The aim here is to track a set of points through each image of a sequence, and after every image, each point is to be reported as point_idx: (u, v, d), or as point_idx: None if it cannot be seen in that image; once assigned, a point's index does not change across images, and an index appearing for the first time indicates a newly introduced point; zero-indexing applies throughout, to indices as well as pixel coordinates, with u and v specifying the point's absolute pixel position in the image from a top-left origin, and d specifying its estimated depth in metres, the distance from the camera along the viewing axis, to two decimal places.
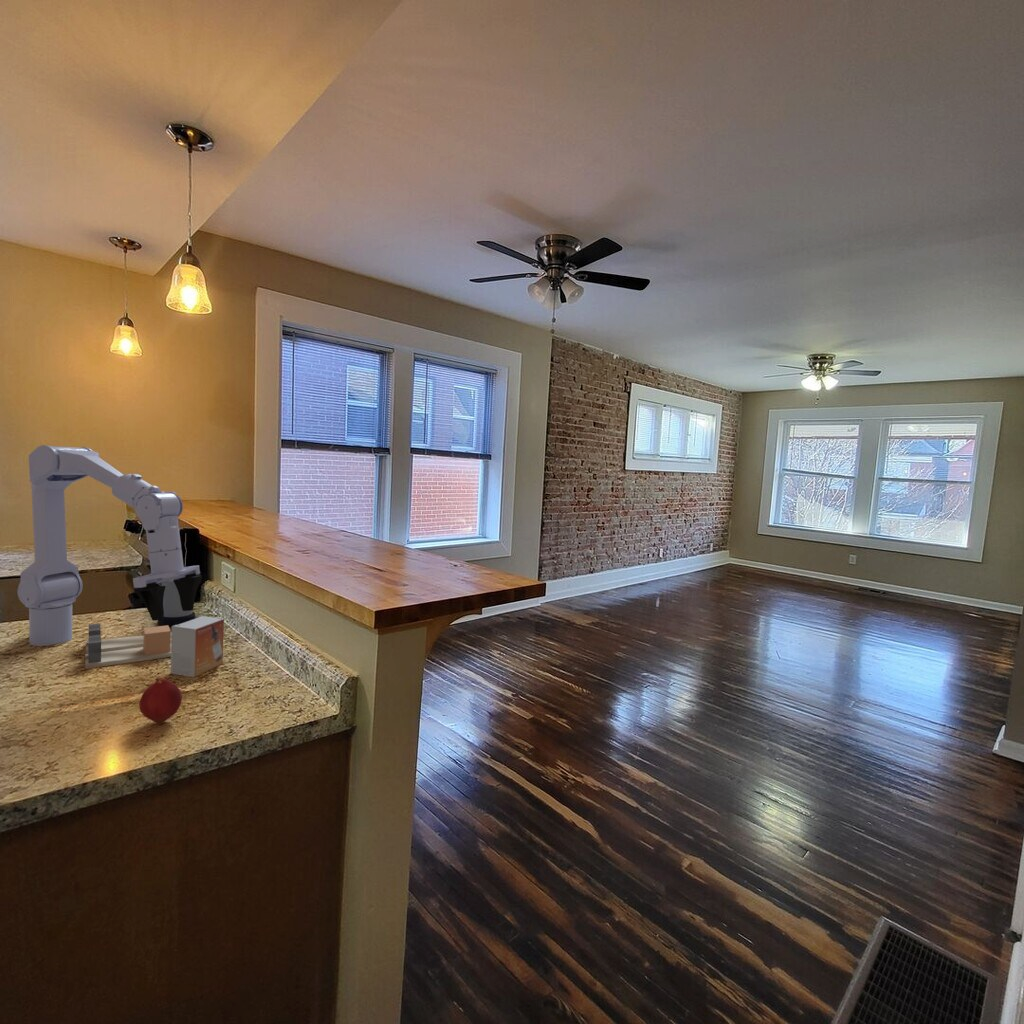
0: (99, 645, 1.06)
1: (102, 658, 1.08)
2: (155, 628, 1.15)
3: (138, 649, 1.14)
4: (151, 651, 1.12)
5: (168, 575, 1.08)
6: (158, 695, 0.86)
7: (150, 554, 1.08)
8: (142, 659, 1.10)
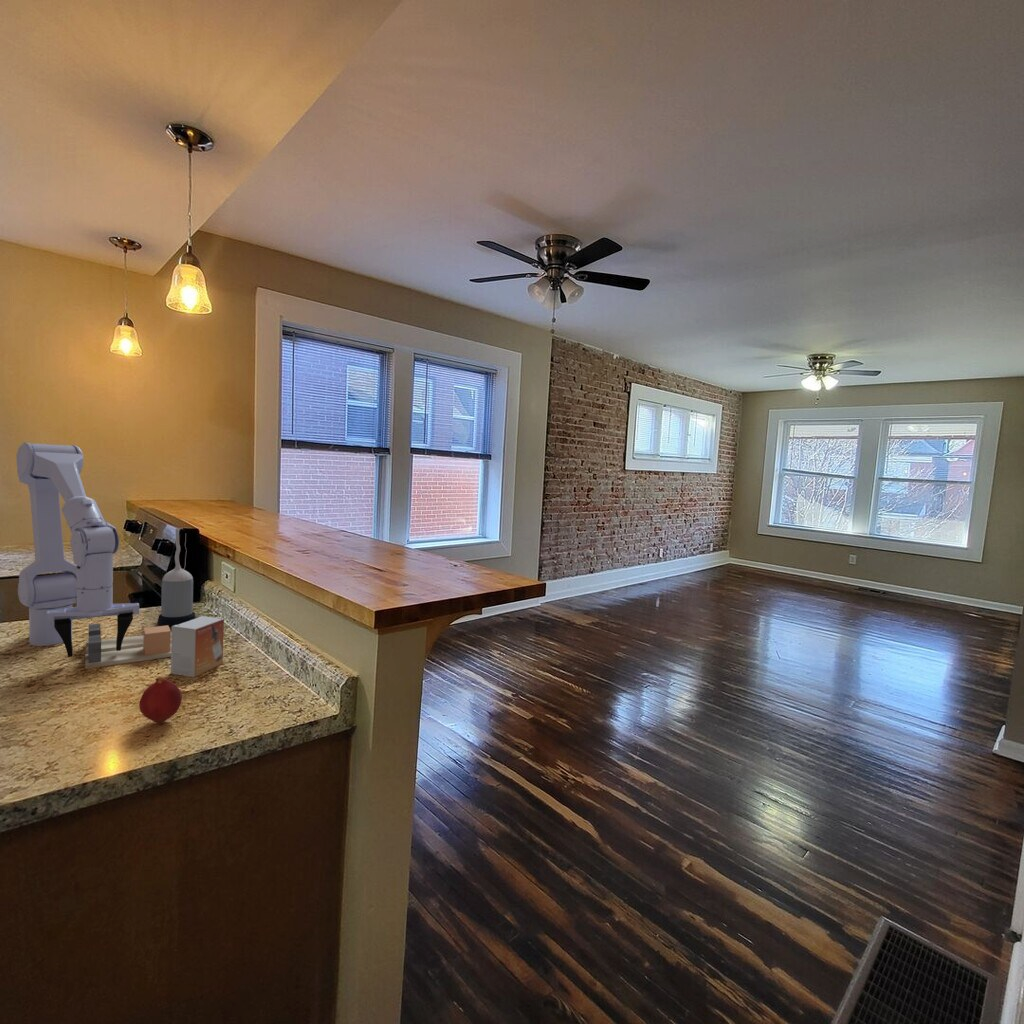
0: (99, 645, 1.06)
1: (102, 658, 1.08)
2: (155, 628, 1.15)
3: (138, 649, 1.14)
4: (151, 651, 1.12)
5: (79, 614, 1.04)
6: (158, 695, 0.86)
7: None
8: (142, 659, 1.10)
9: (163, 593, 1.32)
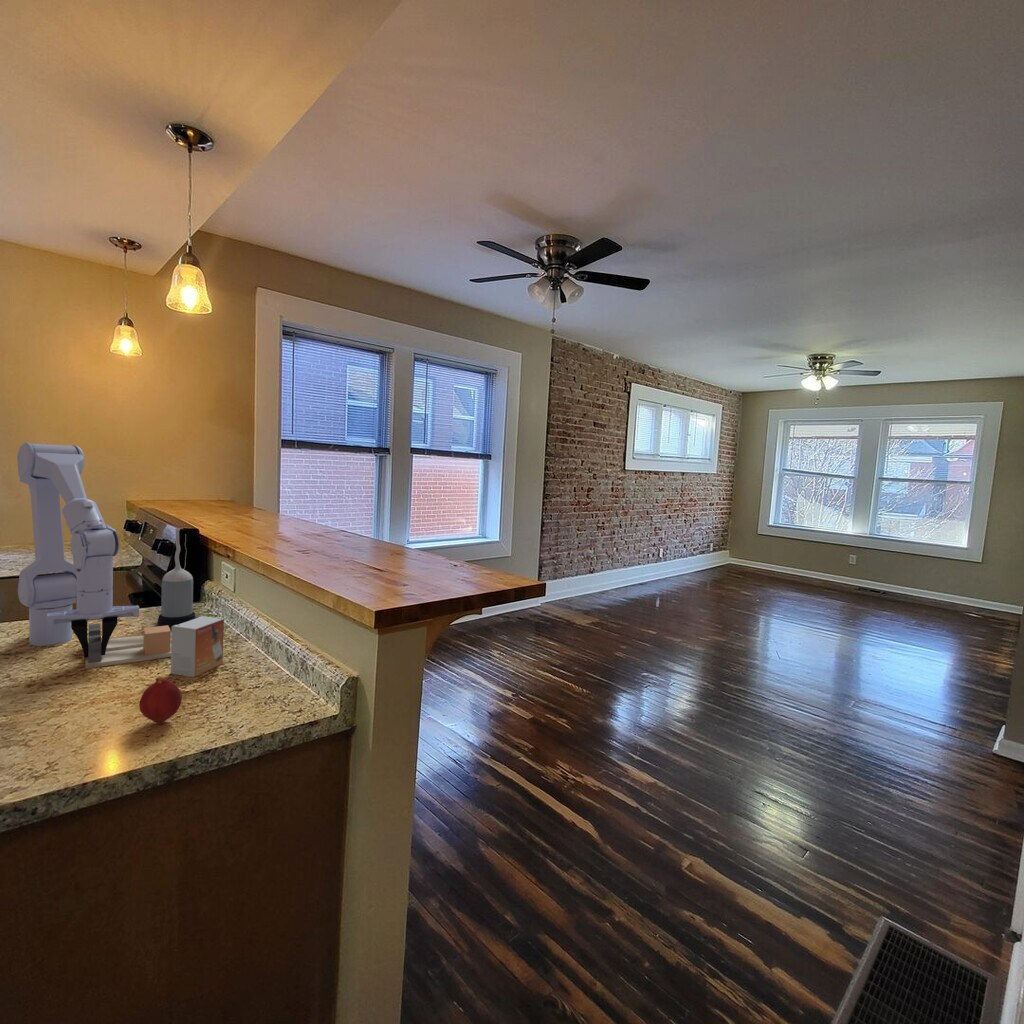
0: (99, 645, 1.06)
1: (102, 658, 1.08)
2: (155, 628, 1.15)
3: (138, 649, 1.14)
4: (151, 651, 1.12)
5: (79, 617, 1.04)
6: (158, 695, 0.86)
7: None
8: (142, 659, 1.10)
9: (163, 593, 1.32)
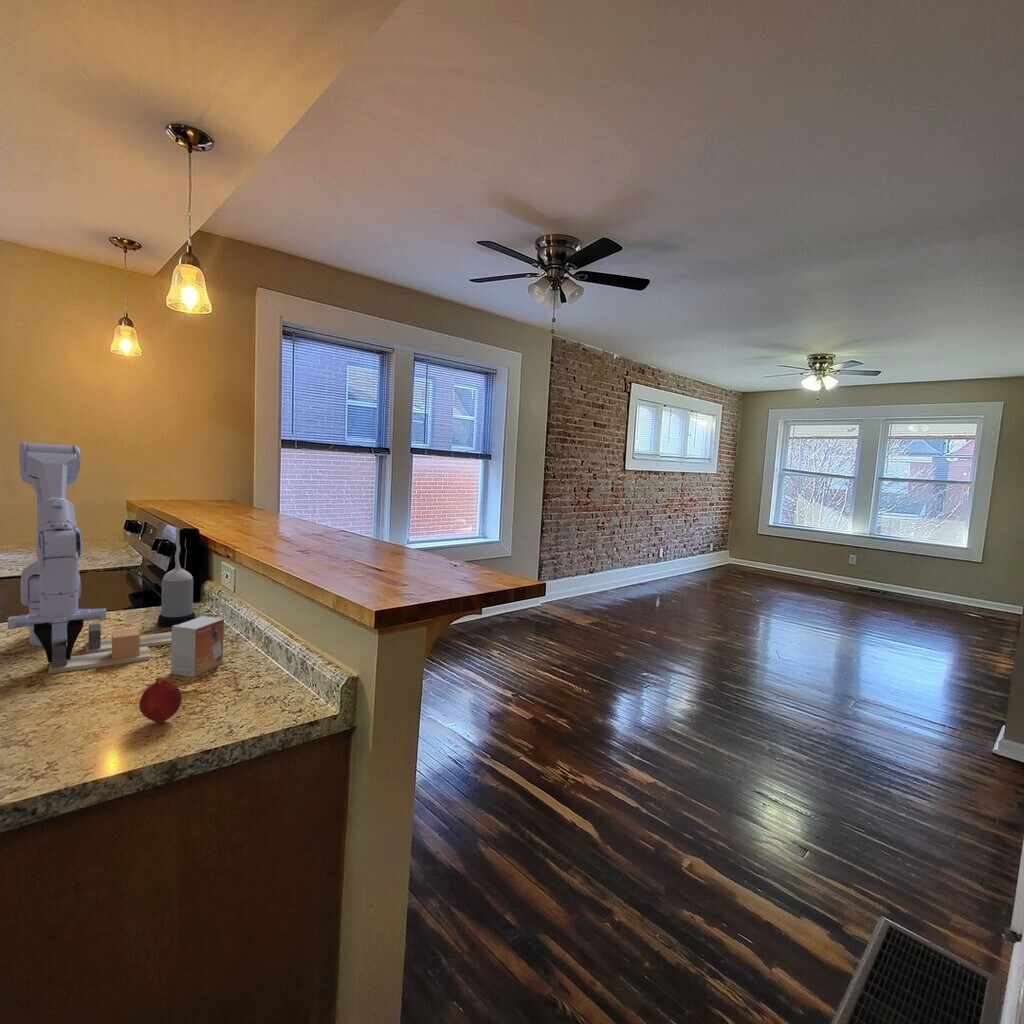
0: (63, 649, 1.03)
1: (67, 663, 1.05)
2: (124, 631, 1.12)
3: (106, 653, 1.11)
4: (119, 655, 1.09)
5: (42, 621, 1.00)
6: (158, 695, 0.86)
7: None
8: (109, 664, 1.07)
9: (163, 593, 1.32)
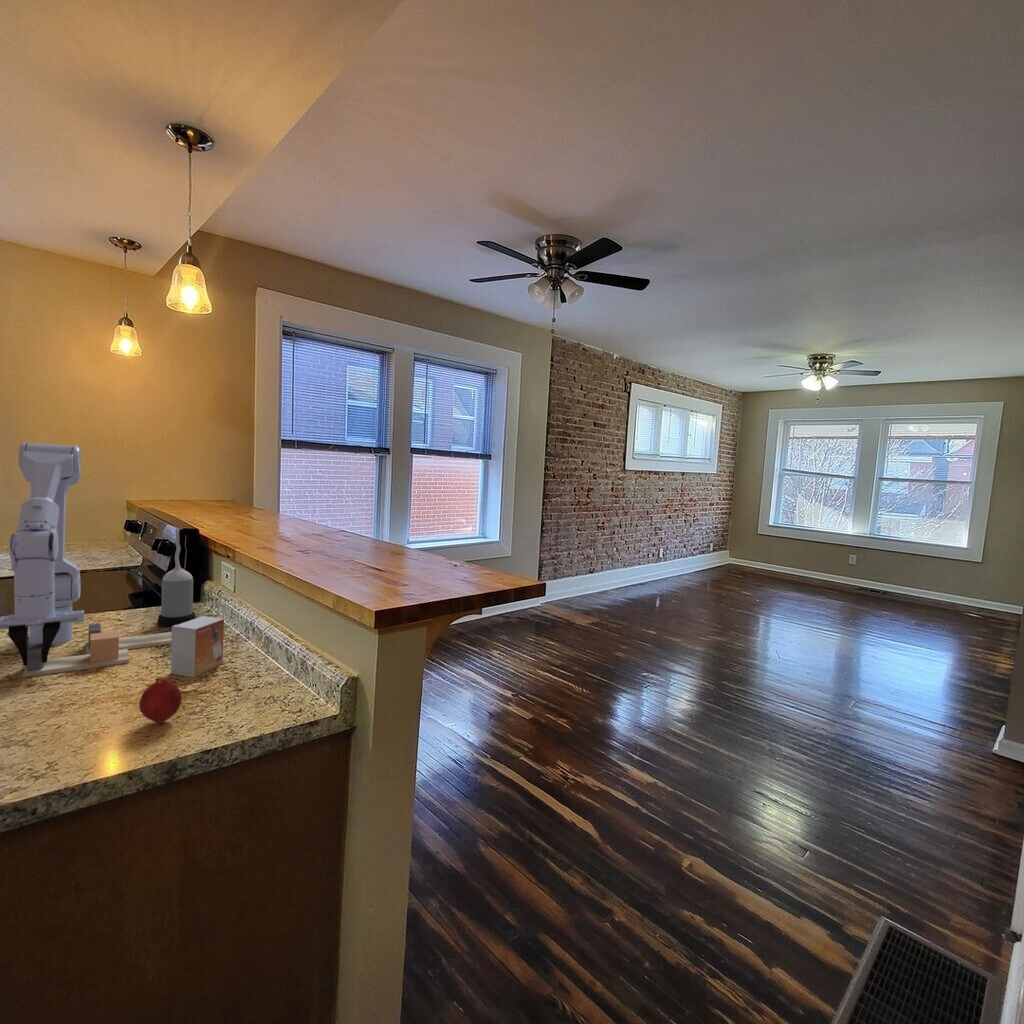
0: (39, 652, 1.01)
1: (43, 666, 1.02)
2: (103, 633, 1.09)
3: (84, 656, 1.08)
4: (97, 658, 1.06)
5: (17, 623, 0.98)
6: (158, 695, 0.86)
7: None
8: (87, 667, 1.05)
9: (163, 593, 1.32)
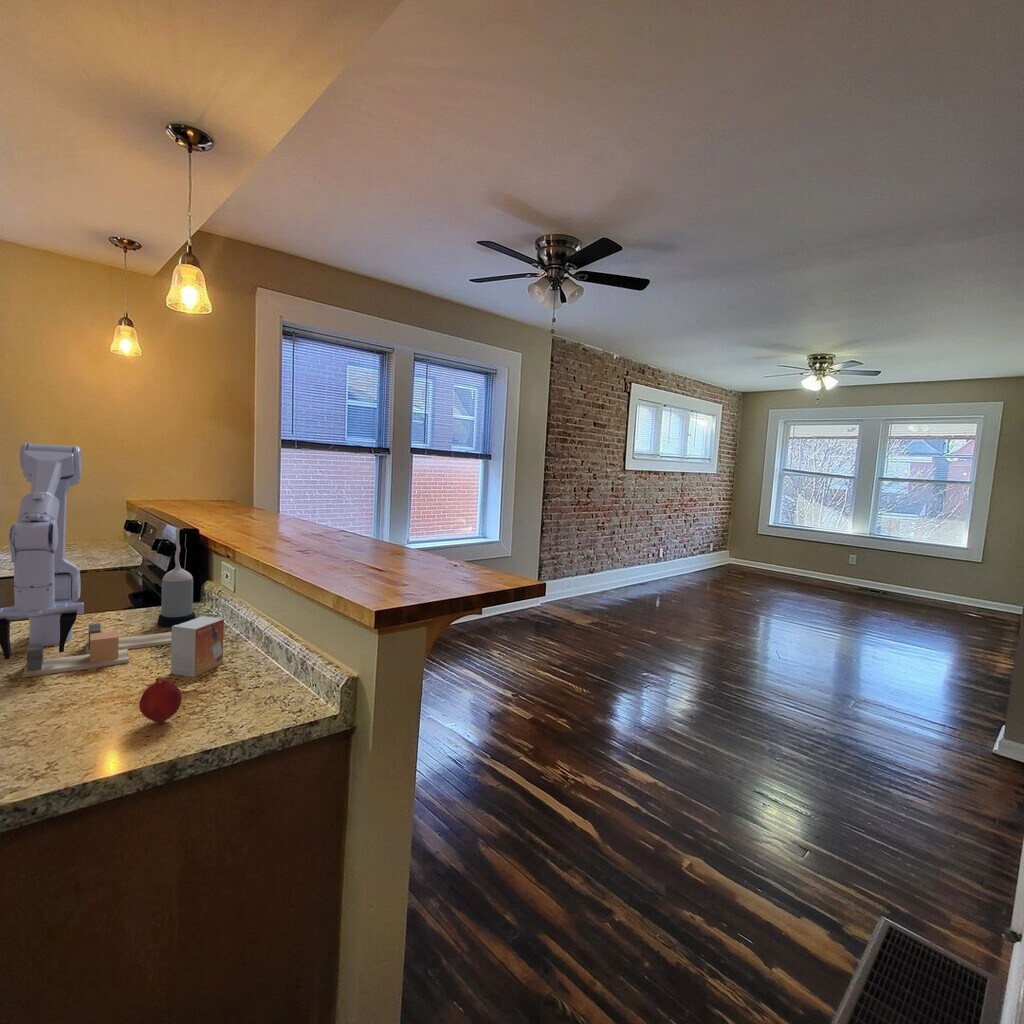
0: (39, 652, 1.01)
1: (43, 666, 1.02)
2: (103, 633, 1.09)
3: (84, 656, 1.08)
4: (97, 658, 1.06)
5: (16, 614, 0.98)
6: (158, 695, 0.86)
7: None
8: (87, 667, 1.05)
9: (163, 593, 1.32)
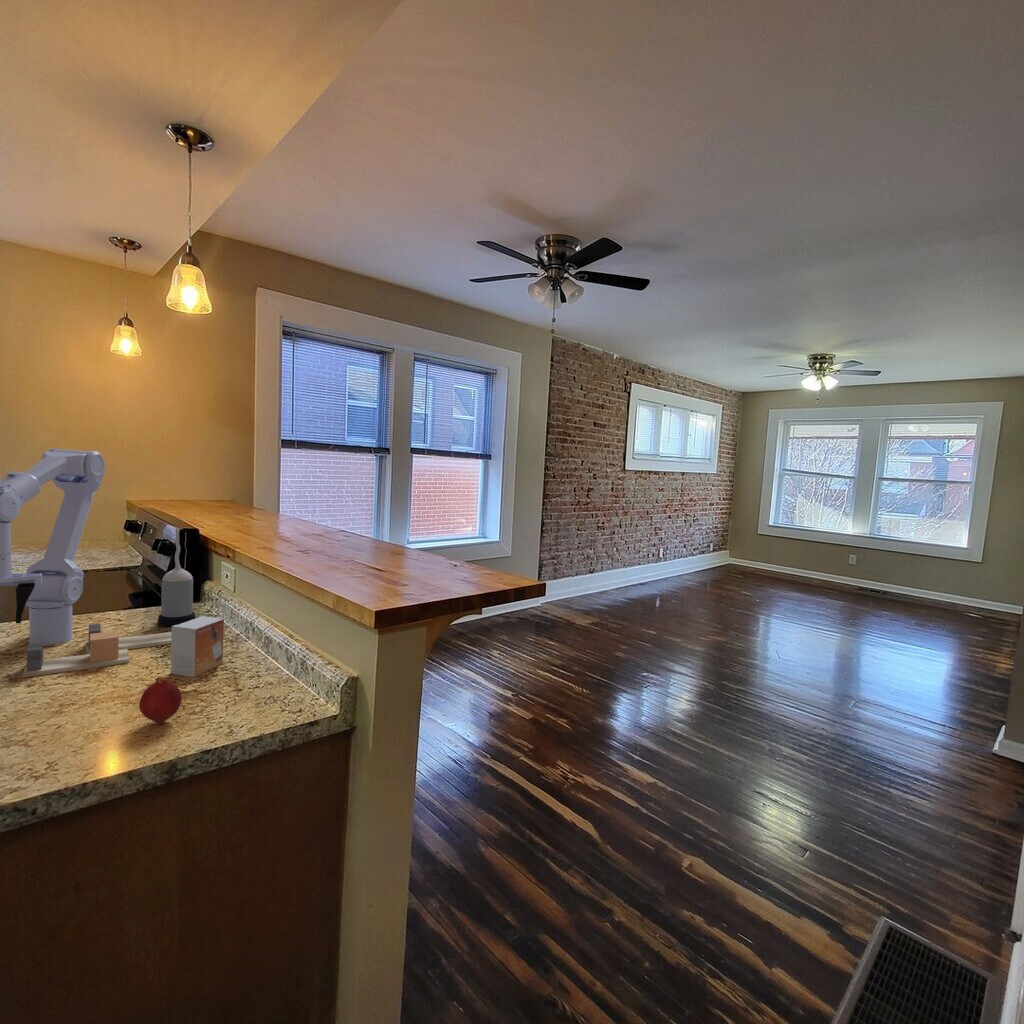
0: (39, 652, 1.01)
1: (43, 666, 1.02)
2: (103, 633, 1.09)
3: (84, 656, 1.08)
4: (97, 658, 1.06)
5: None
6: (158, 695, 0.86)
7: None
8: (87, 667, 1.05)
9: (163, 593, 1.32)
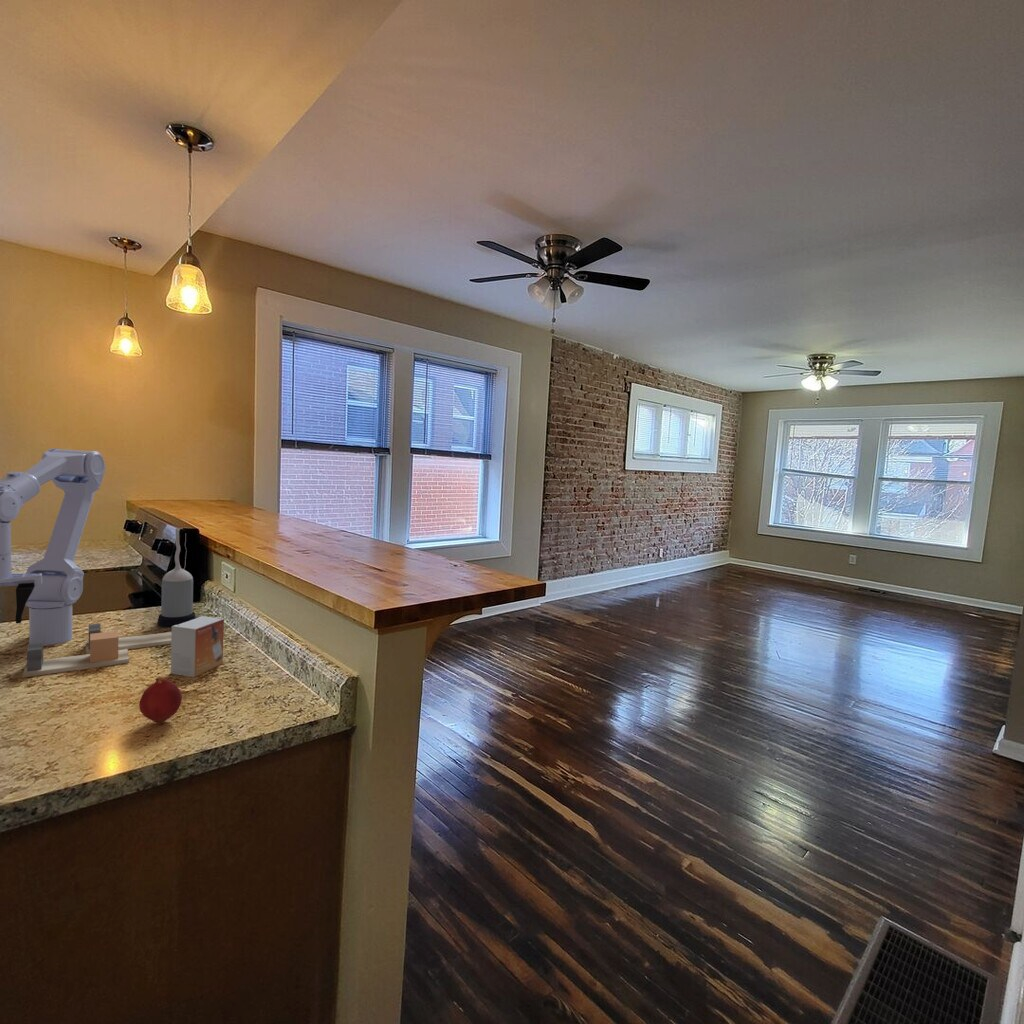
0: (39, 652, 1.01)
1: (43, 666, 1.02)
2: (103, 633, 1.09)
3: (84, 656, 1.08)
4: (97, 658, 1.06)
5: None
6: (158, 695, 0.86)
7: None
8: (87, 667, 1.05)
9: (163, 593, 1.32)
